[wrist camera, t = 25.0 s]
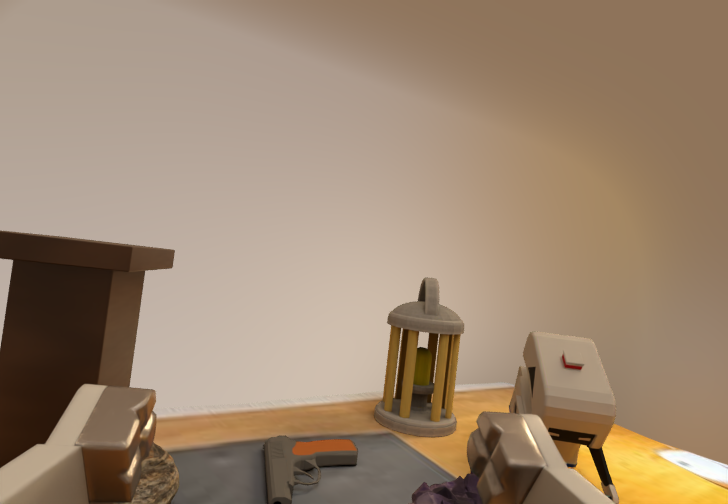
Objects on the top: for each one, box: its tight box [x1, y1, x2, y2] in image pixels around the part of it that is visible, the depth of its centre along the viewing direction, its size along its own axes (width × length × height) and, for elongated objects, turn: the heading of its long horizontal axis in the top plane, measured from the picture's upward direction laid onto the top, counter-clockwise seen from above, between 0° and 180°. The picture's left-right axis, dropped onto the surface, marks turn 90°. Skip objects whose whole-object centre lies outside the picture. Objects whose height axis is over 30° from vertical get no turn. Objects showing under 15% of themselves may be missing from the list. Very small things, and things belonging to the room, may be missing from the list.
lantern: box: [374, 278, 464, 437], centre depth 79 cm, size 14×14×25 cm
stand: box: [0, 231, 175, 504], centre depth 28 cm, size 8×10×25 cm
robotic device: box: [509, 332, 619, 504], centre depth 64 cm, size 10×21×20 cm
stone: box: [114, 443, 179, 504], centre depth 42 cm, size 14×10×10 cm
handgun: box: [263, 436, 358, 504], centre depth 54 cm, size 2×16×12 cm
